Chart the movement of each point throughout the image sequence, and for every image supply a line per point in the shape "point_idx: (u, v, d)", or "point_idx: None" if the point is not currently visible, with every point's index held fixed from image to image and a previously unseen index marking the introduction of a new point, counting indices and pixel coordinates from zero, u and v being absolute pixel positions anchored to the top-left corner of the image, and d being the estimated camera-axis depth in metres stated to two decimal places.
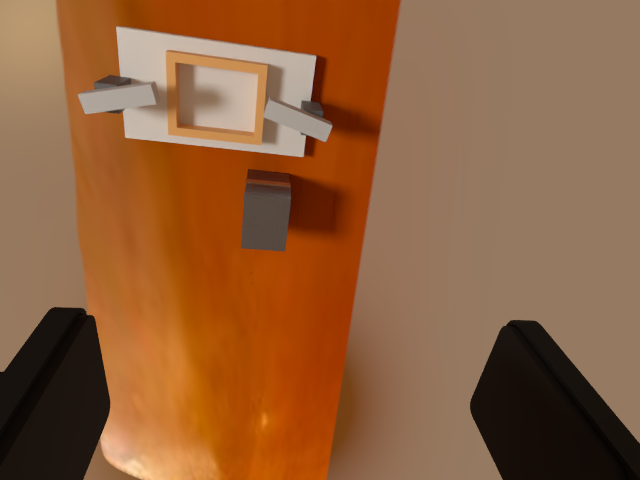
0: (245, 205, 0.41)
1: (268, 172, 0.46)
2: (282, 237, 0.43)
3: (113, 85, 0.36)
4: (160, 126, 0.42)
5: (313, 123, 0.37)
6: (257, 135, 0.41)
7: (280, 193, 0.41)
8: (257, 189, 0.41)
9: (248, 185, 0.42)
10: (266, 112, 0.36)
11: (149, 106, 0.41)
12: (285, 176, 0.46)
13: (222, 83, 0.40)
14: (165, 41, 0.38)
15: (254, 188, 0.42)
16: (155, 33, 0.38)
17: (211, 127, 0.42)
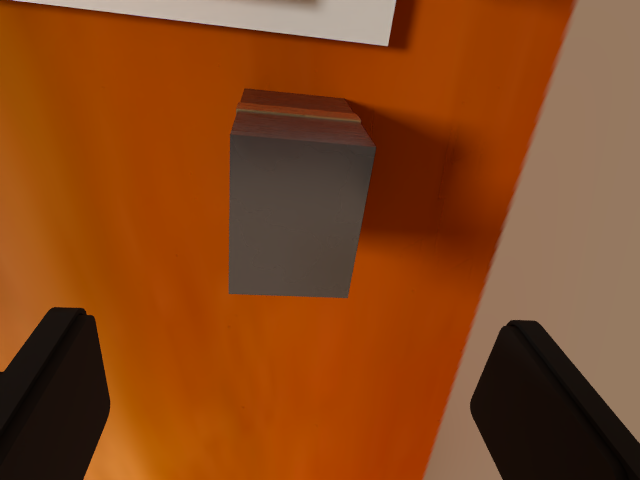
0: (235, 171, 0.13)
1: (295, 95, 0.18)
2: (343, 261, 0.15)
3: None
4: None
5: None
6: None
7: (340, 133, 0.14)
8: (270, 124, 0.14)
9: (243, 116, 0.14)
10: None
11: None
12: (339, 103, 0.18)
13: None
14: None
15: (261, 122, 0.14)
16: None
17: None
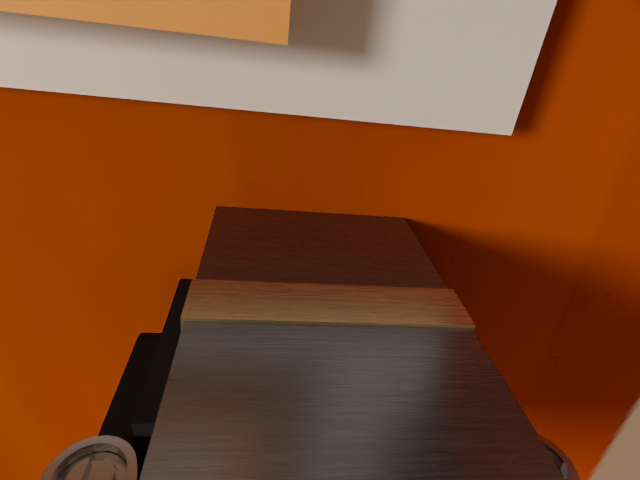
0: None
1: (314, 220, 0.10)
2: None
3: None
4: None
5: None
6: None
7: (458, 428, 0.05)
8: (263, 405, 0.05)
9: (190, 363, 0.05)
10: None
11: None
12: (402, 240, 0.09)
13: None
14: None
15: (238, 393, 0.05)
16: None
17: None
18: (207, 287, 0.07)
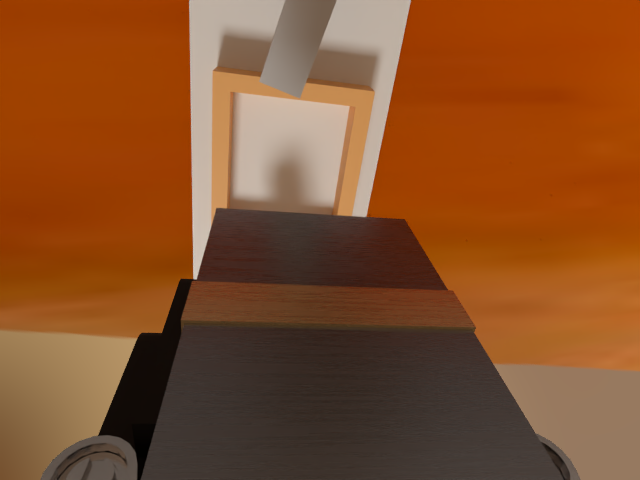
0: None
1: (314, 221, 0.10)
2: None
3: None
4: None
5: None
6: (353, 99, 0.20)
7: (457, 430, 0.05)
8: (264, 407, 0.05)
9: (191, 365, 0.05)
10: (288, 90, 0.16)
11: None
12: (403, 242, 0.09)
13: (260, 155, 0.22)
14: (204, 235, 0.24)
15: (238, 396, 0.05)
16: (194, 246, 0.25)
17: (338, 179, 0.23)
18: (207, 289, 0.07)
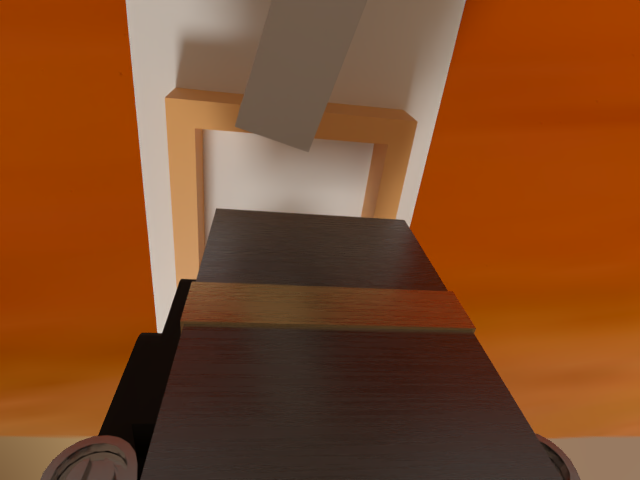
0: None
1: (314, 222, 0.10)
2: None
3: None
4: None
5: None
6: (385, 133, 0.13)
7: (457, 431, 0.05)
8: (263, 408, 0.05)
9: (190, 366, 0.05)
10: (288, 140, 0.09)
11: None
12: (403, 243, 0.09)
13: None
14: None
15: (238, 397, 0.05)
16: (159, 332, 0.18)
17: None
18: (207, 289, 0.07)
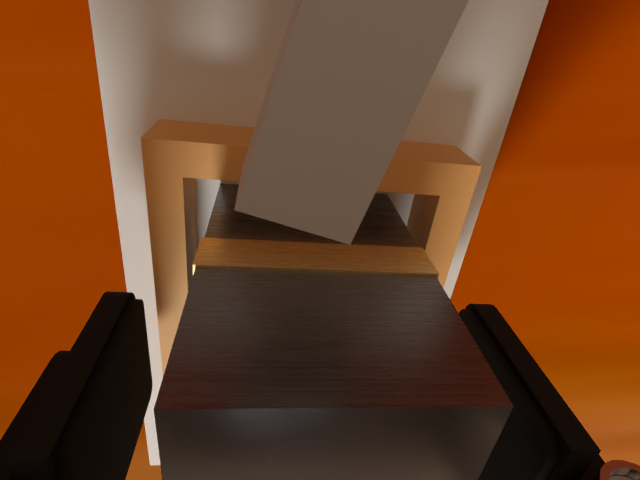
0: (174, 468, 0.05)
1: None
2: None
3: None
4: None
5: None
6: (437, 181, 0.10)
7: (414, 342, 0.06)
8: (260, 324, 0.06)
9: (202, 295, 0.07)
10: (319, 227, 0.05)
11: None
12: (383, 212, 0.10)
13: None
14: None
15: (240, 316, 0.06)
16: None
17: None
18: (214, 243, 0.08)
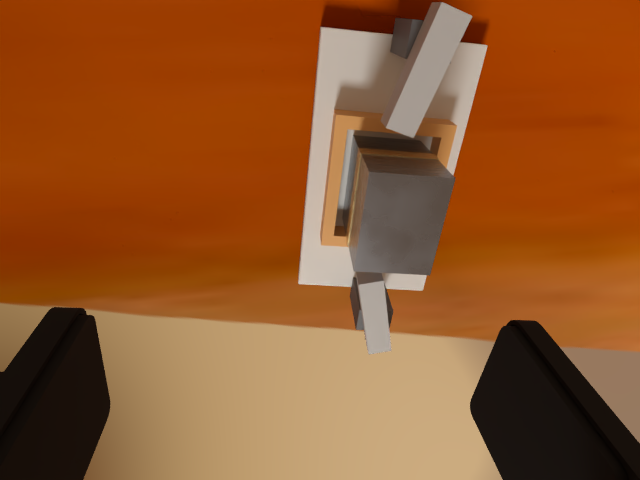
0: (368, 193, 0.22)
1: (387, 139, 0.27)
2: (429, 250, 0.23)
3: (359, 312, 0.29)
4: None
5: (432, 44, 0.20)
6: (440, 131, 0.26)
7: (430, 169, 0.22)
8: (386, 163, 0.22)
9: (367, 158, 0.23)
10: (405, 133, 0.22)
11: None
12: (419, 145, 0.26)
13: None
14: (311, 237, 0.31)
15: (380, 162, 0.23)
16: (302, 247, 0.31)
17: None
18: (363, 149, 0.24)
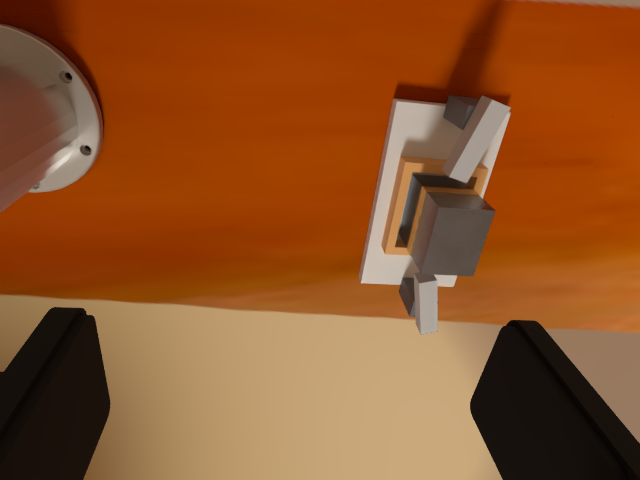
0: (437, 221, 0.32)
1: (437, 177, 0.37)
2: (474, 258, 0.34)
3: (413, 303, 0.39)
4: None
5: (484, 125, 0.30)
6: (477, 173, 0.36)
7: (476, 203, 0.33)
8: (446, 199, 0.33)
9: (432, 195, 0.33)
10: (461, 180, 0.32)
11: None
12: (460, 181, 0.37)
13: None
14: (374, 248, 0.41)
15: (442, 198, 0.33)
16: (367, 255, 0.41)
17: None
18: (425, 187, 0.34)
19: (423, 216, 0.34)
